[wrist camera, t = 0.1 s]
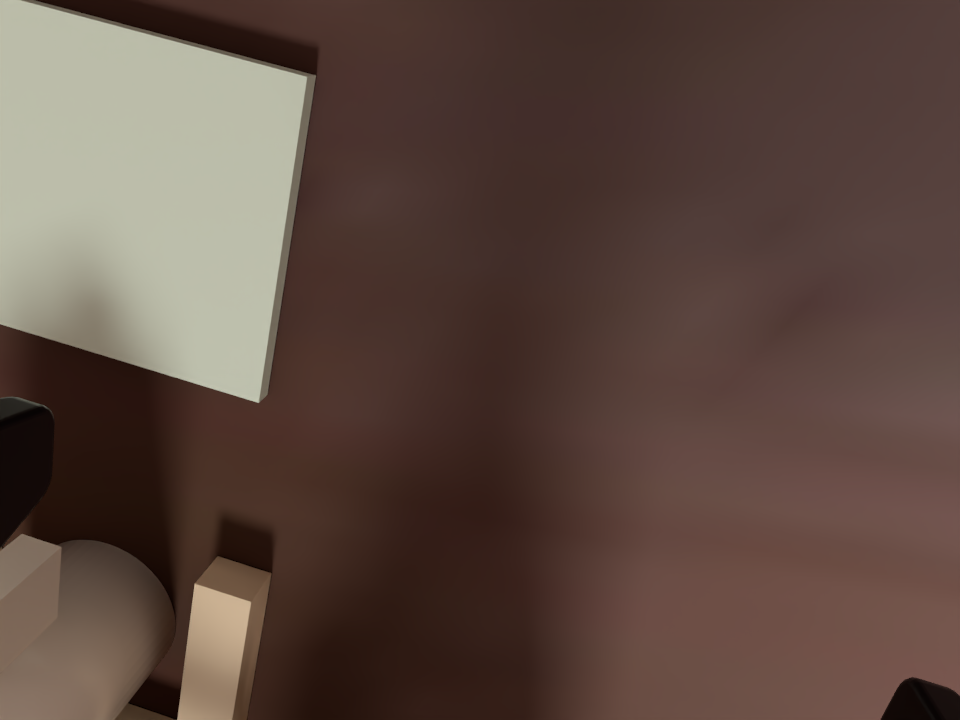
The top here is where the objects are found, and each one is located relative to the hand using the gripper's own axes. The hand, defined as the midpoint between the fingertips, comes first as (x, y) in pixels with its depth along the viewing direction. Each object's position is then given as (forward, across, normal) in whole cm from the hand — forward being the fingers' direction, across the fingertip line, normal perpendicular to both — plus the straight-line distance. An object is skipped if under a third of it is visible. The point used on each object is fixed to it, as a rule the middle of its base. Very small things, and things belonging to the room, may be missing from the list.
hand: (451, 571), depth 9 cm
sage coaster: (+15, +12, +2) cm, 19 cm away
